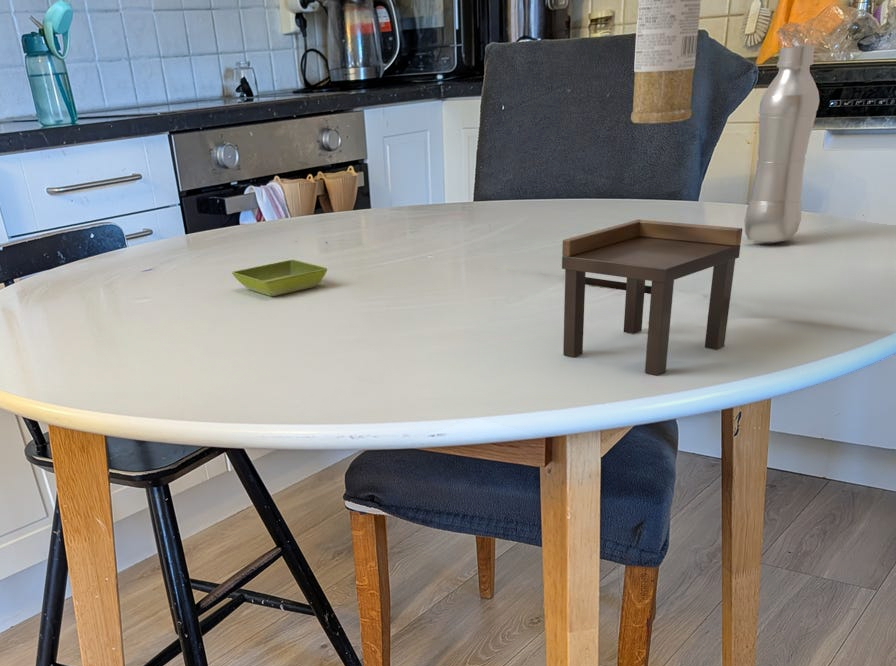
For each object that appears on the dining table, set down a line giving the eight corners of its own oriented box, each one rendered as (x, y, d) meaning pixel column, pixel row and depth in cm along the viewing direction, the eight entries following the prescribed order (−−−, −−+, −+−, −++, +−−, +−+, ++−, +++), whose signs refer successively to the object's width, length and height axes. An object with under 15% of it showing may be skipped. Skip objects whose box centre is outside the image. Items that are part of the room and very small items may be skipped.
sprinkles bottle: (659, 118, 69) (675, -101, 62) (704, 119, 66) (726, -112, 59) (617, 124, 68) (627, -100, 60) (660, 125, 64) (677, -113, 57)
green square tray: (331, 286, 104) (329, 267, 103) (267, 300, 100) (264, 281, 99) (295, 276, 110) (292, 259, 109) (233, 290, 106) (230, 272, 105)
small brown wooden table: (728, 346, 74) (743, 228, 69) (657, 376, 69) (668, 251, 63) (630, 328, 80) (637, 219, 75) (559, 355, 75) (562, 239, 70)
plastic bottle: (799, 237, 108) (830, 43, 97) (794, 248, 103) (827, 44, 92) (745, 237, 111) (769, 47, 100) (737, 247, 106) (762, 49, 95)
